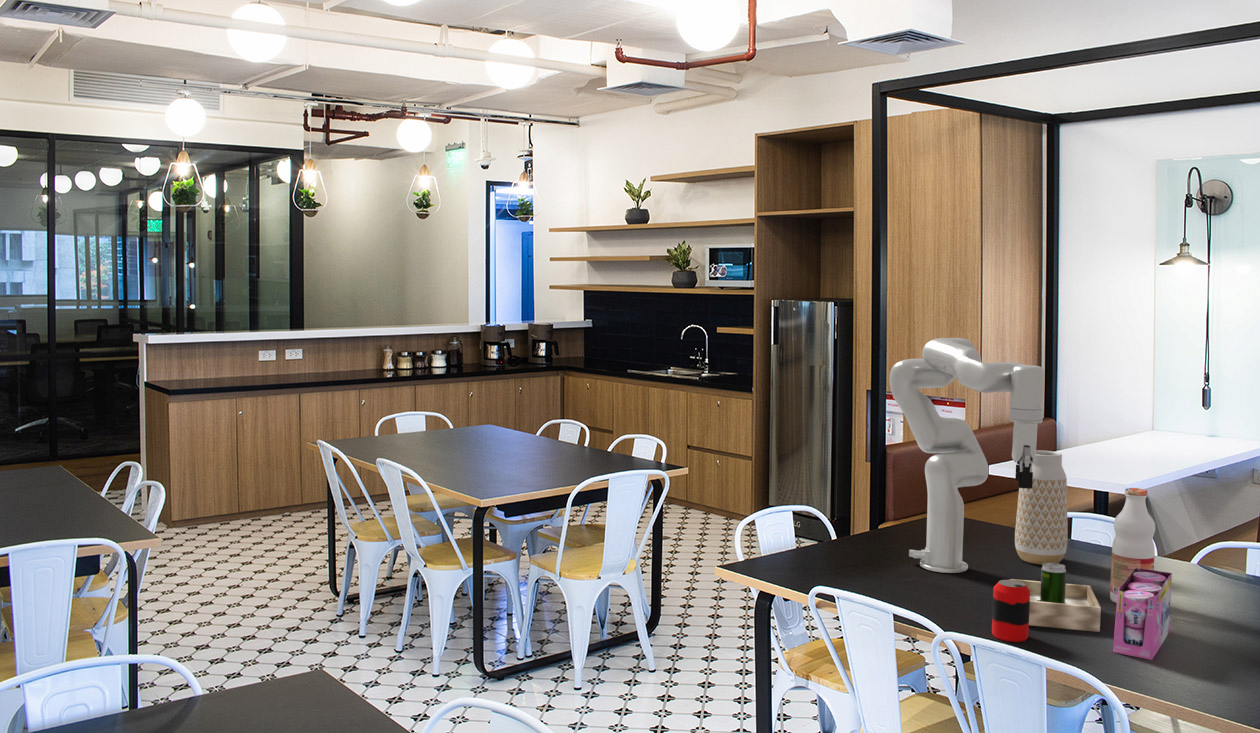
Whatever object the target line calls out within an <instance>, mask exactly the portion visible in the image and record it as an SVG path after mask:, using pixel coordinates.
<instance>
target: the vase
mask: <svg viewBox="0 0 1260 733" xmlns="http://www.w3.org/2000/svg"><path fill="white" fill-rule="evenodd" d="M1032 472H1033V483H1032V488H1031V489H1027V488H1019V487H1018V498H1017V507H1016V508H1017V510H1016V517H1015V518H1016V519H1015V530H1014V546H1015V550H1016V552H1017V555H1018V556H1019V558H1020V559H1021V560H1022V561H1024V562H1026V563H1029V564H1034V565H1040V566H1043V563H1058V564H1060V562H1061V561H1062V560H1063V559H1064V557H1065V555H1066V553H1067V548H1068V537H1069V536H1068V534H1069V533H1068V532H1069V531H1068V484H1067V483H1068V481H1067V480H1068V478H1067V474H1066V472H1065V469H1064V467H1063V454H1062V453H1061V452H1057V451H1052V450H1042V449H1041V450H1039V449H1038V450H1037V449H1036V455H1035V462H1034V463H1032Z"/></svg>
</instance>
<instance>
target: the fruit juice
mask: <svg viewBox="0 0 1260 733" xmlns="http://www.w3.org/2000/svg"><path fill="white" fill-rule="evenodd" d="M1124 496H1125V502H1124V506H1123V507H1122V510H1120V512H1119V513H1118V514H1117V515H1116V516H1115V519H1114V521H1113V527H1114V528H1113V529H1114V532H1115V536H1114V538H1113V541H1112V545H1111V564H1110V565H1111V566H1110V585H1109V586H1110V589H1109V598H1110V601H1112V602H1113V603H1115V604H1117V594H1118V589H1119V587H1120V586H1121V585H1122V584H1123V583H1124V582H1125V581H1126V579H1127V578H1128V577H1129V576H1130V574H1131V573H1132V571H1133V570H1134V569H1135V568H1141V569H1148V570H1155V557H1156V556H1155V554H1156V553H1155V552H1156V549H1155V548H1156V547H1155V543H1154V540H1153V537H1154V535H1155V532H1156V522H1155V520H1154V519H1153V517H1152V516H1151V515H1150V513H1149V511H1148V508H1147V503H1146V502H1147V501H1146V498H1147V497H1148V490H1147V489H1144V488H1141V487H1140V488H1138V487H1126V488H1125V489H1124Z"/></svg>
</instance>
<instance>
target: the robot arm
mask: <svg viewBox="0 0 1260 733" xmlns="http://www.w3.org/2000/svg"><path fill="white" fill-rule="evenodd" d="M921 353H922V358H908V359H902V360H899V361H898V362H896V363H895V364H894V365H892V368H891V370H890V372H889V387H890V393H891V394H892V397H893V399H894V401H895V402H896V404H897V406H898V407H899V408H900V409H901V411H902V414H904V417H905V419H906V421H907V425H908V426H909V428H910V430H911V433H912V435H913V437H914V439H915V441H916V443H917V445H918V448H919V449H920V450H921V451H922V452H924V453H927V454H933V455H932V456H930V457H929V458H928V459H927V461H925V465H924V475H925V482H926V489H927V490H926V491H927V492H926V493H927V510H926V514H927V515H926V516H927V517H926V545H925V547H924V549H921V550H916V549H909V550H908V556H909V557H911V558H913V559H920V561H919V566H920V567H921V568H923V569H925V570H928V571H931V572H935V573H943V574H957V573H958V574H960V573H964V572H966V571H967V570H969V565H968V563H967V562H965V561H963V550H964V549H963V548H964V546H963V545H964V544H963V543H964V516H965V504H964V501H963V497H962V496H961V493H960V491H959V490H958V489H959V488H964V487H975V486H979V485H982V484H983V483H985V481H986V480H987V479H988V476H989V464H988V461H987V458H986V456H985V454H984V452H983V449H982V447H981V446H980V444H979V442H978V440H977V438H976V436H975V434H974V430H972V428H971V427H970V425H969V424H968V423H967V422H966V421H964V420H963V419H961V418H955V417H954V418H953V417H951V418H949V417H947V418H943V417H941V416H940V415H939V413H938V411H937V409H936V406H935V405H934V403H933V402H932V401H931V399H930V398H929V397H928V396H927V395H925V394H924V393H922V391H921V390H920V389H936V388H937V389H939V388H940V389H941V388H943V387H946V386H949V385H950V384H951V383H953V382H954V381H955V380H956V379H957V381H958V382H959V384H960V385H961V386H963V387H965V388H968V389H970V390H973V391H976V392H979V393H986V394H987V393H988V394H989V393H991V394H994V393H1010V408H1009V421H1010V422H1012V423H1013V431H1012V446H1011V447H1012V450H1011V458H1012V461H1013V463H1016V464H1015V479H1014V480H1015V481H1017V482H1018V483H1017V487H1018V489H1019V488H1027V489H1031V488H1032V483H1033V472H1032V463H1034V462H1035V455H1036V450H1037V441H1038V439H1037V438H1038V424H1042V423H1043V418H1044V395H1045V369H1044V368H1043V367H1041V366H1039V365H1032V364H1031V365H1030V364H1024V363H1021V362H1018V361H1017V362H1016V361H1010V362H1008V361H1007V362H1006V361H1005V362H1004V361H1001V362H998V361H997V362H983V361H982V358H981V355H980V352H978V350H976V347H975V345H974V344H973V343H972V342H971V341H970V340H969V339H967V338H963V337H941V338H940V337H939V338H934V339H931V340H929V341H927V343H925V345H924V346H923V347H922V352H921Z"/></svg>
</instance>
